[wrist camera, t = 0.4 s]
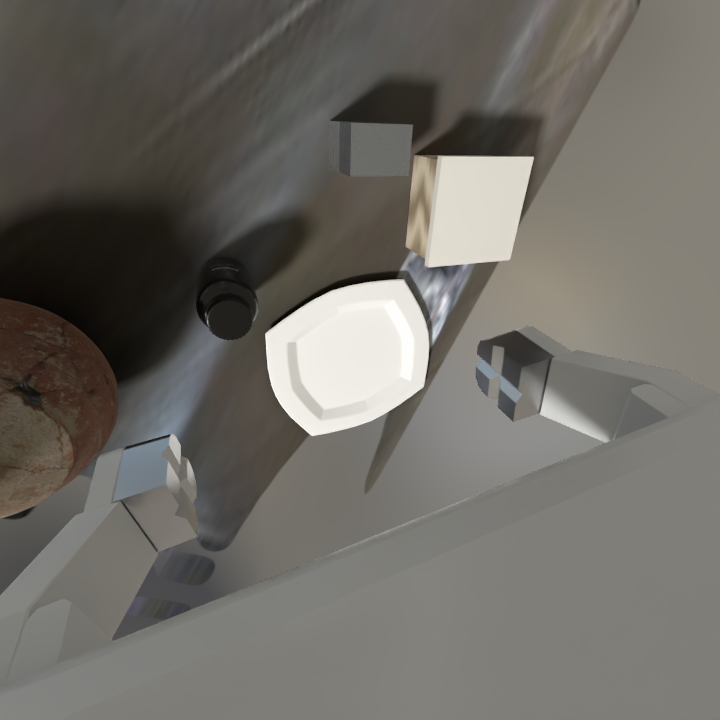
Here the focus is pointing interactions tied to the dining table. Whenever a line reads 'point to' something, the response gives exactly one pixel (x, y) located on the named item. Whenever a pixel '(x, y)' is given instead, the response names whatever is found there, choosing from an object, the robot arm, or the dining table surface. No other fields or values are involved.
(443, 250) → the stand
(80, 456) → the jug
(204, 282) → the supplement bottle
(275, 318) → the dining table surface
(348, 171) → the block
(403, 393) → the plate
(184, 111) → the dining table surface
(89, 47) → the dining table surface
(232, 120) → the dining table surface
